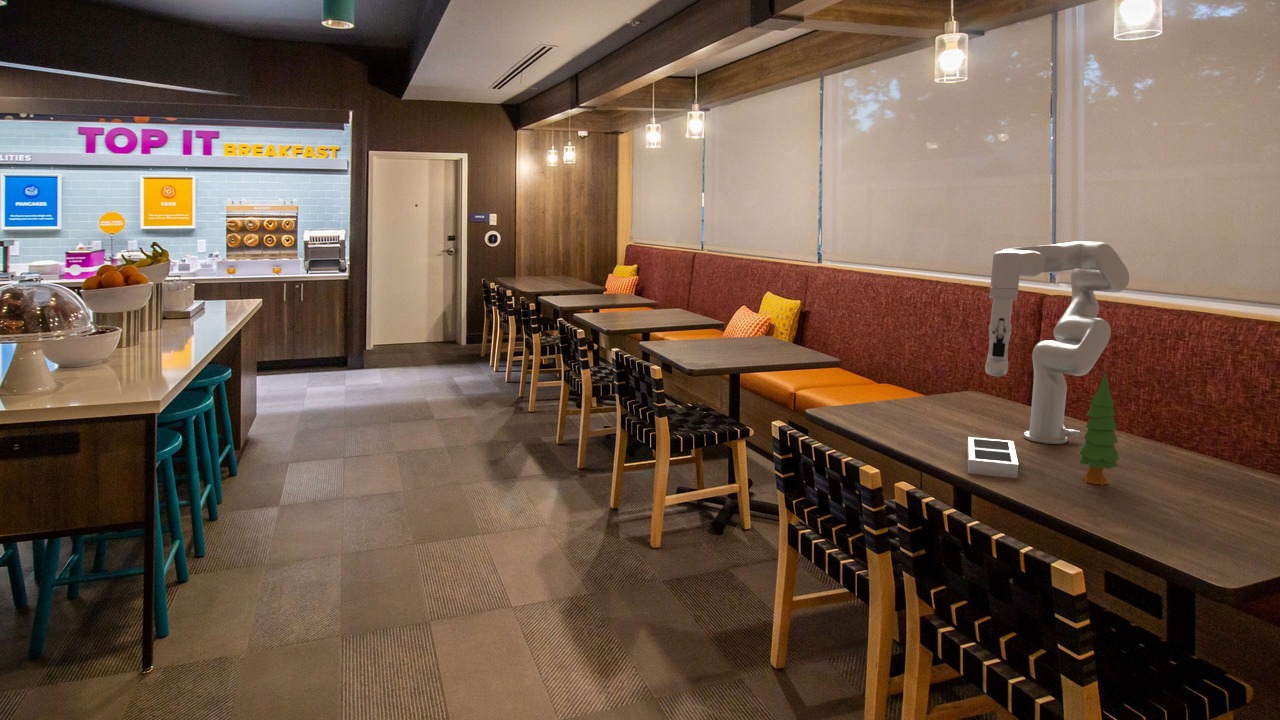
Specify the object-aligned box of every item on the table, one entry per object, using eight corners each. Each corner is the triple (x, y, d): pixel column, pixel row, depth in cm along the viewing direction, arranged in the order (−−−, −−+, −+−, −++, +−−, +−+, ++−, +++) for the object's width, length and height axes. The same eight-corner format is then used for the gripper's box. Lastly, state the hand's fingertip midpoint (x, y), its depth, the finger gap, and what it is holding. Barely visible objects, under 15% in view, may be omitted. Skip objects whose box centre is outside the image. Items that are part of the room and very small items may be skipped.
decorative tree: (1100, 475, 230) (1111, 368, 225) (1125, 486, 221) (1137, 376, 215) (1068, 477, 229) (1078, 370, 223) (1092, 489, 220) (1103, 377, 214)
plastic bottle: (1007, 374, 250) (1013, 308, 247) (1008, 378, 244) (1014, 310, 241) (983, 373, 253) (989, 307, 249) (984, 376, 246) (990, 309, 243)
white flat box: (1012, 453, 250) (1013, 441, 249) (1017, 478, 228) (1018, 464, 227) (967, 449, 254) (968, 437, 254) (968, 473, 232) (969, 459, 232)
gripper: (989, 290, 253) (984, 349, 256) (989, 295, 238) (984, 358, 241) (1016, 292, 250) (1010, 351, 254) (1018, 297, 235) (1012, 360, 238)
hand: (997, 354), depth 247 cm, fingers closed on plastic bottle, 5 cm apart
